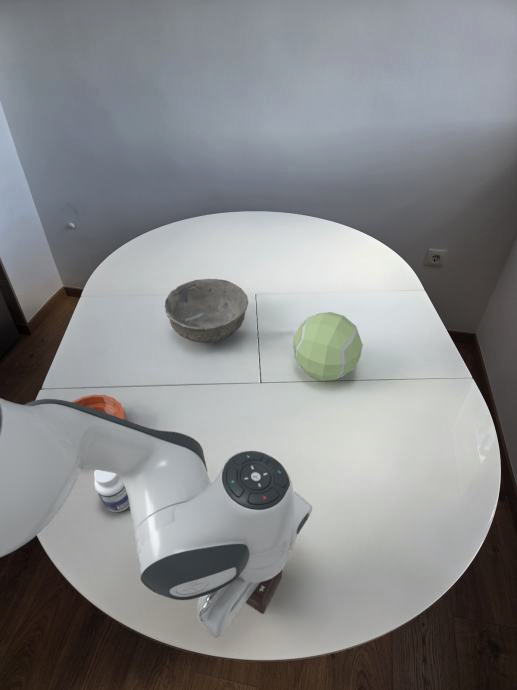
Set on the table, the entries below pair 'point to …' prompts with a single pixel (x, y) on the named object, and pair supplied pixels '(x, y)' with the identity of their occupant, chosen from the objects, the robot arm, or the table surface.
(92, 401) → the clay bowl
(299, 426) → the table surface
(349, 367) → the green ball
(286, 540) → the robot arm
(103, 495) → the pill bottle
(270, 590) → the box
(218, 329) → the bowl
